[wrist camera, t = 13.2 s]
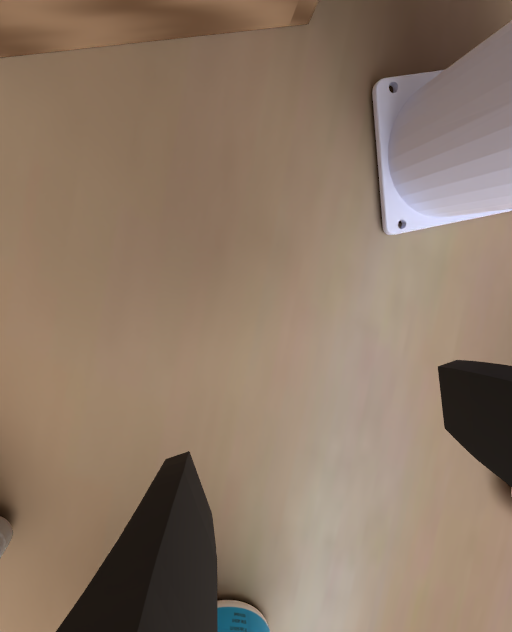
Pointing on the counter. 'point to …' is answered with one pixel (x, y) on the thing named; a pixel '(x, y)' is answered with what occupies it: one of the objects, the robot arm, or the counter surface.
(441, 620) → the counter surface
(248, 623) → the beverage bottle
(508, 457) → the robot arm
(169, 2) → the bore box
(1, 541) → the lightbulb
